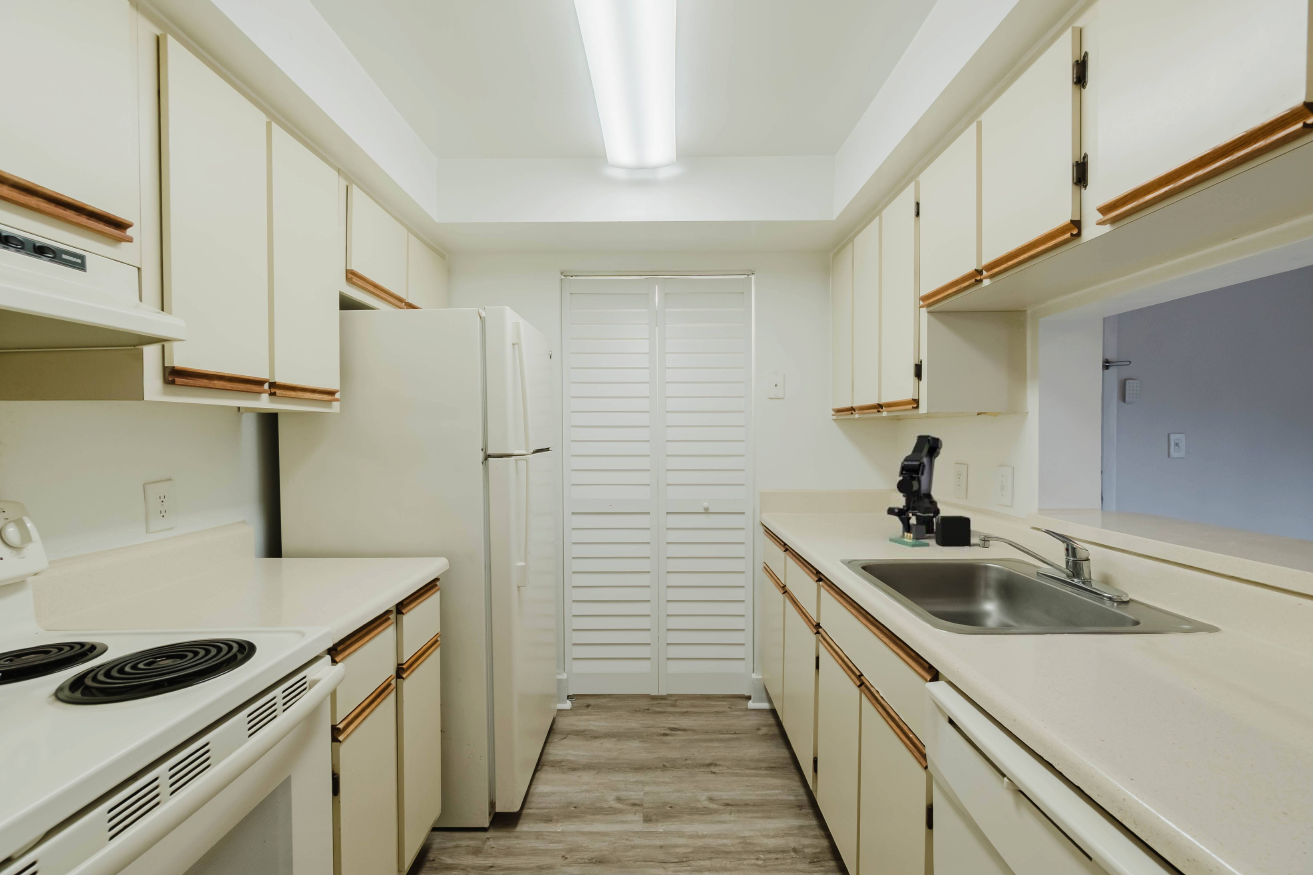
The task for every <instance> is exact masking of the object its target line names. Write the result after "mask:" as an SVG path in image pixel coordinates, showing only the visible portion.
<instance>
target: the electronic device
mask: <svg viewBox="0 0 1313 875" xmlns="http://www.w3.org/2000/svg"><path fill="white" fill-rule="evenodd" d="M971 522H972V521H971V518H970V517H968V516H964V515H938V516H936V517H935V518H934V531H935V533H934V534H935V538H934V540H935V544H936V545H938V546H941V547H949V548H950V547H951V548H953V547H957V548H961V547H965V546H969V547H971V545H972V543H971V542H972V540H971V538H972V537H971V536H972V535H971V533H972V530H971V529H972V527H971V525H972V524H971Z"/></svg>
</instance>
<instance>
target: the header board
mask: <svg viewBox="0 0 1313 875" xmlns="http://www.w3.org/2000/svg"><path fill="white" fill-rule="evenodd" d="M910 535H911V538H910ZM888 540H889V542H892V543H896V544H899V545H904V546H908V547H910V548H915V547H916V548H918V547H919V548H920V547H930V542H927V541H922V540H919V539H914V538H913V534H910V533H908V537H907V533H905V536H903V537H902V536H901V537H889V538H888Z"/></svg>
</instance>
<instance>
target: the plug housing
mask: <svg viewBox="0 0 1313 875" xmlns="http://www.w3.org/2000/svg"><path fill="white" fill-rule="evenodd" d="M901 525H902V524H901ZM901 529H902V530H901V531H902V532H901V533H902V536H903V537H905V533H906V531H905V529H904V527H903V525H902V528H901ZM910 534H913V539H915V540H919V539H926V534H925V526H923V525H919V524H916V523H914V522H913V523H912V522H910ZM902 536H901V537H902ZM907 537H908V534H907ZM910 538H911V535H910Z"/></svg>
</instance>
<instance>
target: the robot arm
mask: <svg viewBox="0 0 1313 875" xmlns="http://www.w3.org/2000/svg"><path fill="white" fill-rule="evenodd" d="M942 449H943V441H942V439H941V438H940V437H936V436H932V435H930V434H919V435H917V436H916V442H915V443H914V446H913V449H912V451H911V453H910V454H908V455H906V456H905V457H904V458H903V460H902V461H901V464H900V468H899V472H898V477H899V478H901V479H899V480H898V482H897V484H896V489H897V491H898V492H899V493H900V494H902V498H904V504H903V505H902V507H899V506H889V507H888V508H887V510H886V514H887V515H889V516H894V517H896V518H898V519H899V521H900V523H901V525H903V527H904V529H905V531H906V533H907V534H908V533H910V523H911V520H912V518H913V517H915V524H919V525H923V526H925V535H926V534H935V517H936V516H941V509H940V508H939V506H938V501H936V500H935V497H934V496H933V495H932V489H933V481H934V479H933V478H934V470H935V463H936V462H935V461H936V459H937V458H938V457H939V456H940V455H941V450H942ZM910 514H911V516H910Z"/></svg>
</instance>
